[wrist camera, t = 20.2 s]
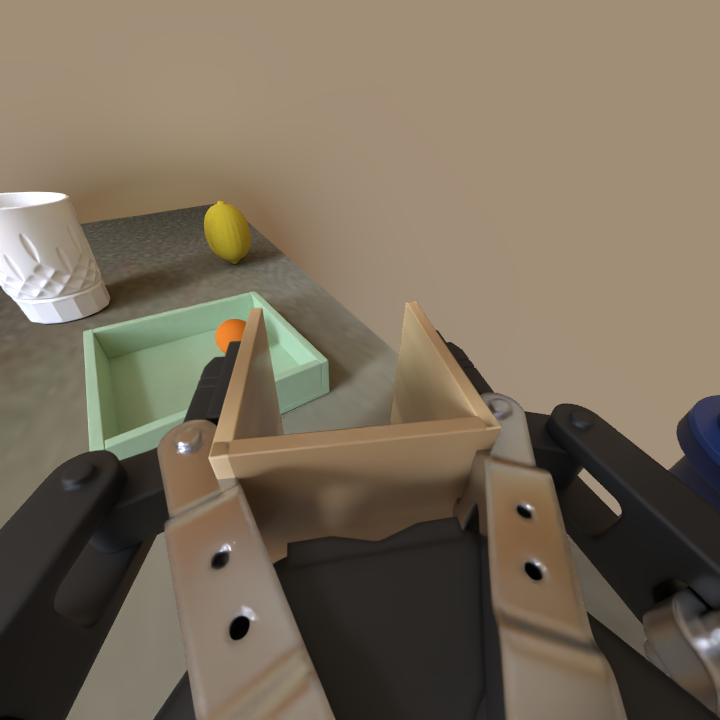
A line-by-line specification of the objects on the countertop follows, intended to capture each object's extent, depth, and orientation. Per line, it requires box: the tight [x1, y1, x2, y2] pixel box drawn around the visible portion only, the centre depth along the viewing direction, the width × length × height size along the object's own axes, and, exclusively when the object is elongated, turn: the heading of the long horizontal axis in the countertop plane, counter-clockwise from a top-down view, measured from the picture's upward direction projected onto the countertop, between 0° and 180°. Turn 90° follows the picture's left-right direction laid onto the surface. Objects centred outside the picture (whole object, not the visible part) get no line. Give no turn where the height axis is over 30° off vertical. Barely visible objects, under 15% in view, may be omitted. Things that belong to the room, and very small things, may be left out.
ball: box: [215, 319, 247, 354], centre depth 25 cm, size 3×3×3 cm
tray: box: [83, 291, 330, 460], centre depth 23 cm, size 13×13×3 cm
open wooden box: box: [209, 302, 501, 564], centre depth 11 cm, size 6×6×9 cm
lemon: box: [204, 200, 251, 264], centre depth 40 cm, size 6×6×8 cm
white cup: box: [0, 192, 110, 324], centre depth 29 cm, size 8×8×10 cm
